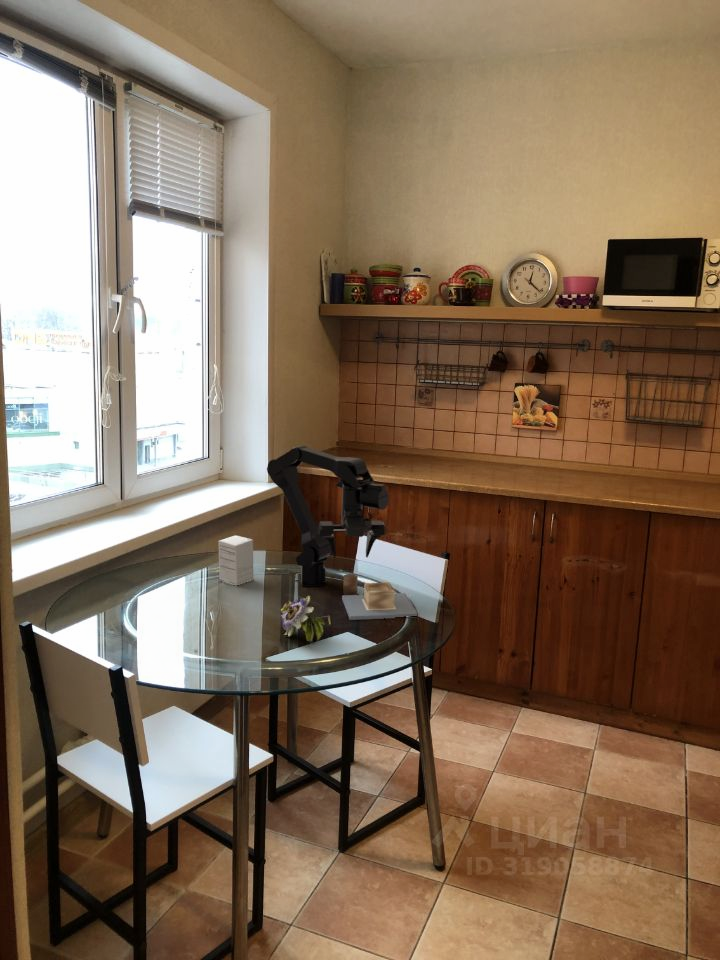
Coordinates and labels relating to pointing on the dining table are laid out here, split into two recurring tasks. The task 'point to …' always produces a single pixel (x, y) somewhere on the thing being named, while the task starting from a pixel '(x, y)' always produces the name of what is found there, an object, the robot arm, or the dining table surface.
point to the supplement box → (236, 559)
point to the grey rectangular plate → (360, 610)
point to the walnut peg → (350, 584)
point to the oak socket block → (379, 595)
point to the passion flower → (301, 618)
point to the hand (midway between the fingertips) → (350, 557)
